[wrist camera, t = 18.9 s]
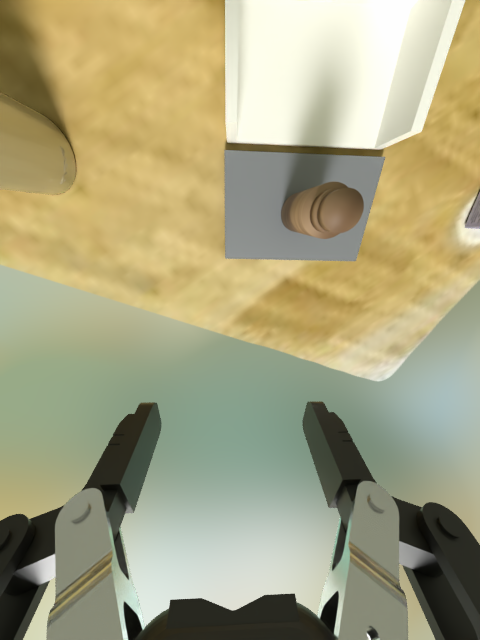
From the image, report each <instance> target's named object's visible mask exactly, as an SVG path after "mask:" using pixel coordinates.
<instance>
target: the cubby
mask: <svg viewBox="0 0 480 640" xmlns="http://www.w3.org/2000/svg"><path fill="white" fill-rule="evenodd" d="M464 3H465V0H225V75H226V133H227V143H242V144H264V145H286V146H308V147H330V148H352V149H374V150H381V149H383V148H385V147H388V146H390V145H392V144H394V143H397V142H399V141H401V140H404V139H406V138H408V137H410V136H413V135H415V134H417V133H420V132H422V129H423V126H424V123H425V120H426V117H427V114H428V111H429V108H430V105H431V102H432V99H433V96H434V93H435V90H436V87H437V84H438V81H439V78H440V75H441V72H442V69H443V66H444V63H445V60H446V57H447V54H448V51H449V48H450V45H451V42H452V39H453V36H454V33H455V30H456V27H457V24H458V21H459V18H460V15H461V12H462V9H463V6H464Z"/></svg>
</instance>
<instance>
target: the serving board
mask: <svg viewBox="0 0 480 640" xmlns="http://www.w3.org/2000/svg"><path fill="white" fill-rule="evenodd" d="M384 160H385V157H372V156H349V155H326V154H303V153H281V152H258V151H235V150H225V258H228V259H275V260H323V261H356V259H357V255H358V252H359V248H360V245H361V241H362V238H363V234H364V230H365V227H366V223H367V220H368V216H369V213H370V209H371V206H372V202H373V199H374V195H375V192H376V188H377V185H378V181H379V177H380V174H381V170H382V167H383V163H384ZM328 182H341V183H343V184H345V185H346V186H347V187H349V188H354V189H356V190H357V191H358V192H359V193H360V194H361V195H362V198H363V201H364V209H363V213H362V216H361V218H360V220H359V221H358V223H357V224H356V225H355V226H354V227H353V228H352V229H350V230H349V231H347V232H344V233H340V234H338V235H337V236H335V237H332V238H329V239H320V238H316V237H312V236H308V235H305V234H301V233H297V232H293V231H290V230H288V229H287V228H286V227H285V226H284V225H283V223H282V220H281V209H282V206H283V204H284V202H285V201H286V200H287V198H289V197H290V196H291V195H293V194H295V193H298V192H301V191H304V190H307V189H310V188H313V187H316V186H319V185H322V184H325V183H328Z"/></svg>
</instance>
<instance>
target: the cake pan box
mask: <svg viewBox="0 0 480 640" xmlns="http://www.w3.org/2000/svg"><path fill="white" fill-rule="evenodd" d="M465 228H480V192H479V195H478V197H477V199H476V201H475V204H474V206H473V208H472V211H471V213H470V215H469V218H468V220H467V222H466V225H465Z"/></svg>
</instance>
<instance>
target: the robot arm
mask: <svg viewBox="0 0 480 640" xmlns="http://www.w3.org/2000/svg"><path fill="white" fill-rule="evenodd" d="M75 174H76V163H75V158H74V154H73V152H72V149H71V147H70V144H69V143H68V141H67V139H66V138H65V136H64V135H63V133H62V132H61V131H60V130H59V128H58V127H57V126H56V125H55V124H54V123H53V122H52V121H51V120H49V119H48V118H47V117H45V116H44V115H42V114H41V113H39V112H37V111H35V110H33V109H31V108H29V107H27V106H25V105H23V104H22V103H20V102H18V101H16V100H14V99H12V98H11V97H9V96H7V95H5V94H3V93H1V92H0V189H4V190H13V191H22V192H29V193H39V194H48V195H58V194H61V193H64V192H65V191H67V190H68V189H69V188H70V187H71V186H72V184H73V182H74V179H75ZM303 430H304V434H305V437H306V440H307V443H308V446H309V449H310V452H311V455H312V458H313V461H314V464H315V467H316V470H317V473H318V476H319V479H320V482H321V485H322V488H323V491H324V494H325V497H326V501H327V504H328V507H329V508H338V511H339V514H340V519H339V524H338V529H337V534H336V539H335V544H334V549H333V553H332V558H331V563H330V568H329V572H328V576H327V579H326V581H325V584H324V588H323V592H322V596H321V600H320V605H319V610H318V615H315V614H314V613H313V612H312V611H311V610H309V609H308V608H306V607H305V606H303V605H301V604H299V603H297V602H296V598H295V594H278V595H264V596H262V597H260V598H258V599H257V600H255V601H253V602H251V603H249V604H247V605H245V606H243V607H241V608H239V609H237V610H234V611H231V610H229V609H226V608H224V607H222V606H219V605H217V604H214V603H212V602H209V601H207V600H204V599H202V598H198V599H179V600H170V607H169V609H167V610H166V611H164V612H162V613H161V614H160V615H158V616H157V617H155V619H153V620H152V621H151V622H150V623H149V624H148V625H147V626H146V627H145V626H144V621H143V617H142V612H141V608H140V603H139V600H138V596H137V593H136V590H135V587H134V584H133V581H132V577H131V573H130V568H129V564H128V559H127V554H126V550H125V545H124V541H123V536H122V531H121V527H120V525H121V523H122V520H123V517H124V514H125V513H134V510H135V507H136V504H137V501H138V498H139V495H140V492H141V489H142V486H143V483H144V480H145V477H146V474H147V471H148V468H149V465H150V462H151V459H152V456H153V453H154V450H155V447H156V444H157V441H158V438H159V435H160V431H161V418H160V414H159V410H158V405H157V403H141V404H140V405H139V406H138V408H137V410H136V412H135V414H128V415H127V416H126V417H125V418H124V419H123V420H122V421H121V422H120V423H119V425H118V427H117V428H116V430H115V432H114V434H113V437H112V438H111V440H110V441H109V444H108V446H107V447H106V449H105V451H104V452H103V454H102V456H101V458H100V460H99V462H98V464H97V465H96V467H95V469H94V471H93V473H92V475H91V477H90V479H89V480H88V482H87V484H86V485H85V487H84V488H83V489H82V491H81V492H79V493H77V494H76V495H75V496H73V497H72V498H71V499H70V500H69V501H68V502H67V503H66V504H65V505H64V506H62V507H60V508H58V509H55V510H52V511H50V512H47V513H45V514H42V515H39V516H37V517H34V518H31V519H28V518H27V517H26V516H25V515H23V514H16V515H12V516H9V517H7V518H5V519H3V520H1V521H0V640H23V638H24V636H25V633H26V631H27V629H28V627H29V625H30V623H31V620H32V618H33V616H34V614H35V612H36V610H37V607H38V605H39V603H40V601H41V599H42V596H43V594H44V592H45V590H46V588H47V586H48V583H49V581H50V580H51V579H53V578H56V599H55V604H54V606H53V608H52V609H51V610H50V613H49V617H48V623H47V640H408V611H407V602H406V597H405V593H404V592H403V590H402V589H401V587H400V583H399V564H401V565H403V567H404V570H405V572H406V574H407V576H408V579H409V581H410V583H411V585H412V588H413V590H414V592H415V594H416V597H417V599H418V601H419V603H420V605H421V608H422V610H423V612H424V614H425V617H426V619H427V621H428V623H429V626H430V628H431V630H432V632H433V635H434V637H435V639H436V640H480V545H479V543H478V542H477V540H476V539H475V538H474V536H473V535H472V533H471V532H470V531H469V529H468V528H467V527H466V525H465V524H464V523H463V522H462V520H461V519H460V518H459V517H458V516H457V515H455V514H454V513H453V512H452V511H450V510H449V509H447V508H445V507H444V506H442V505H440V504H437V503H432V502H429V503H426V504H425V505H424V506H423V507H419V506H416V505H413V504H410V503H408V502H405V501H401V500H399V499H396V498H394V497H392V496H391V495H390V494H389V493H388V492H387V491H386V490H385V489H384V488H383V487H381V486H380V485H378V484H377V483H376V482H375V480H374V479H373V477H372V475H371V473H370V472H369V470H368V468H367V466H366V464H365V462H364V460H363V459H362V457H361V455H360V453H359V451H358V450H357V447H356V446H355V444H354V443H353V441H352V438H351V436H350V434H349V433H348V431H347V429H346V427H345V425H344V423H343V421H342V420H341V419H340V418H339V417H338V416H337V415H336V414H335V413H334V412H330V413H329V412H328V410H327V408H326V406H325V404H324V403H323V402H308V403H307V405H306V409H305V414H304V417H303Z"/></svg>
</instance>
